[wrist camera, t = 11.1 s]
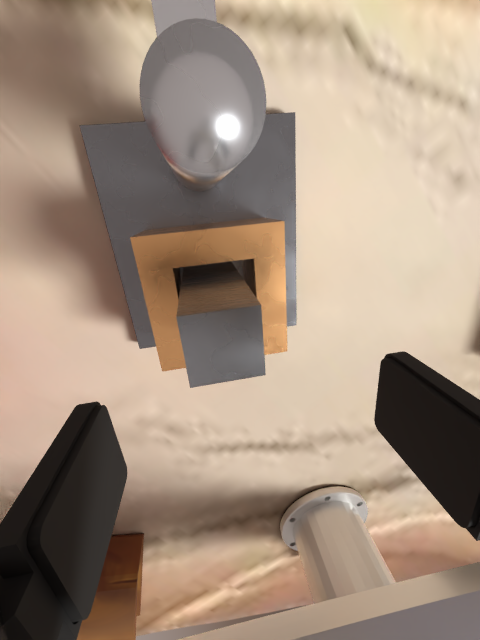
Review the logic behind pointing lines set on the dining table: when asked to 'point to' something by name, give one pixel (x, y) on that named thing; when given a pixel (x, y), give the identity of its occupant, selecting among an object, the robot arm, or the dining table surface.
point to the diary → (117, 592)
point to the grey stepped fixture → (198, 179)
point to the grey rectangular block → (219, 325)
